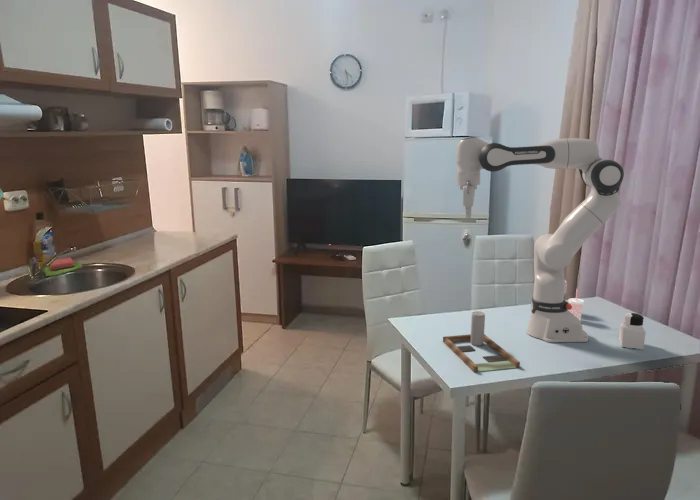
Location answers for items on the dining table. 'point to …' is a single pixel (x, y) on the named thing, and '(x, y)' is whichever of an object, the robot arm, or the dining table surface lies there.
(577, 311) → the beverage cup
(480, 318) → the beverage can
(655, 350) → the dining table surface
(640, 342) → the medicine bottle
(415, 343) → the dining table surface
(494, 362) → the box
